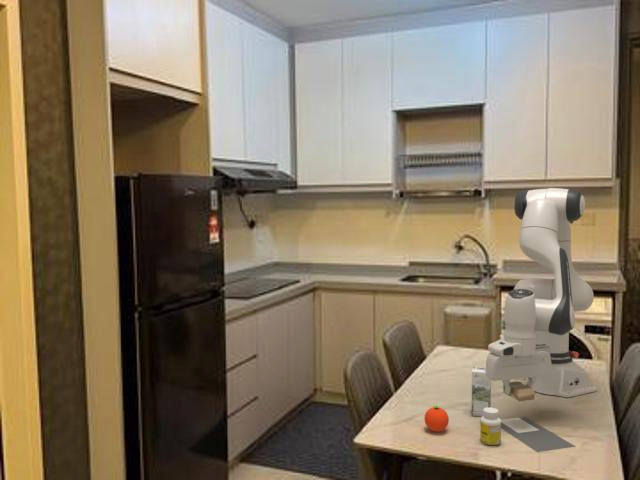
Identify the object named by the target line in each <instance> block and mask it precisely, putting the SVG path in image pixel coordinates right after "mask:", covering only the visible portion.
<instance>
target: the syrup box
mask: <svg viewBox="0 0 640 480" xmlns="http://www.w3.org/2000/svg"><path fill="white" fill-rule="evenodd" d="M471 369H472V370H471V411H470V412H471V417H478V418H481V417H482V416H484V415H483V409H484V408H487V407H490V408H492V380H491V379H489V378H488V377H487V376H486V366H485V367H484V366H472V368H471Z"/></svg>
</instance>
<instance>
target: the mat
mask: <svg viewBox="0 0 640 480" xmlns="http://www.w3.org/2000/svg"><path fill="white" fill-rule="evenodd" d="M500 420H501V430H503V431H504V432H506V433H508V434H509V435H511V436H512V437H513V438H515V439H516V440H518V441H519V442H521V443H523V444H524V445H526V446H527V447H528V448H531V450H533V451H535V452H537V453H541V452H549V451H554V450H555V451H556V450H562V449H568V448H576V445H574V444H572V443H571V442H569V441H567V440H566V439H564V438H562V437H561V436H559V435H557V434H556V433H553V432H552V431H551V430H549V429H547V428H545V427H543V426H542V425H540V424H539V423H538V422H535V421H533V420H532V419H530V418H529V417H527V416H523V417H522V416H520V417H513V418H506V419H500Z"/></svg>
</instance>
